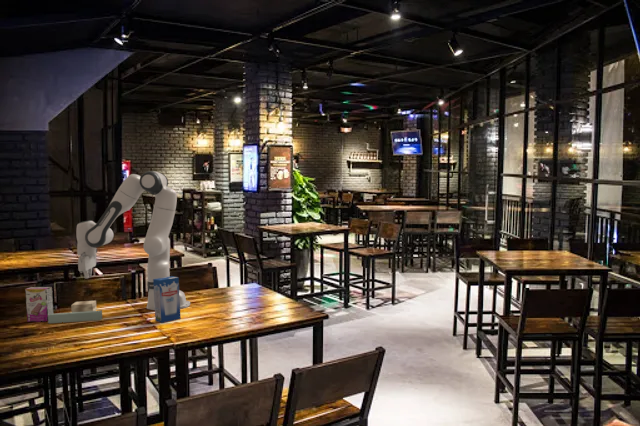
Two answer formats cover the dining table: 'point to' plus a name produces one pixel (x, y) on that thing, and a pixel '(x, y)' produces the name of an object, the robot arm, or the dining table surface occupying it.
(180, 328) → the dining table surface
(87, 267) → the robot arm
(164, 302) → the milk carton
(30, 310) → the candy bar box
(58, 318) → the pale grey bar
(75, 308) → the block
